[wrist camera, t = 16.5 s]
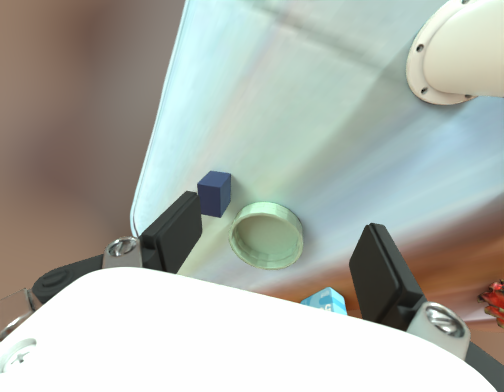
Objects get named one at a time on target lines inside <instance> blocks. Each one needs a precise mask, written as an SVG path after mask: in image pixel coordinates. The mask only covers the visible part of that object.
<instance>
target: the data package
mask: <svg viewBox="0 0 504 392" xmlns="http://www.w3.org/2000/svg"><path fill="white" fill-rule="evenodd" d="M300 304H302V305H306V306H310V307H314V308H318V309H323V310H327V311H331V312H335V313H339V314H343V315H347V312H346V307H345V301H344V298H343V296H341V295H340V294H339V293H337V292H336V291H334V290H333V289H332V288H330V287H327V288H325V289H323V290H321V291H319V292H317V293H315V294H314V295H312V296H310V297H308V298H306V299H304V300H303V301H301V303H300Z"/></svg>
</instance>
